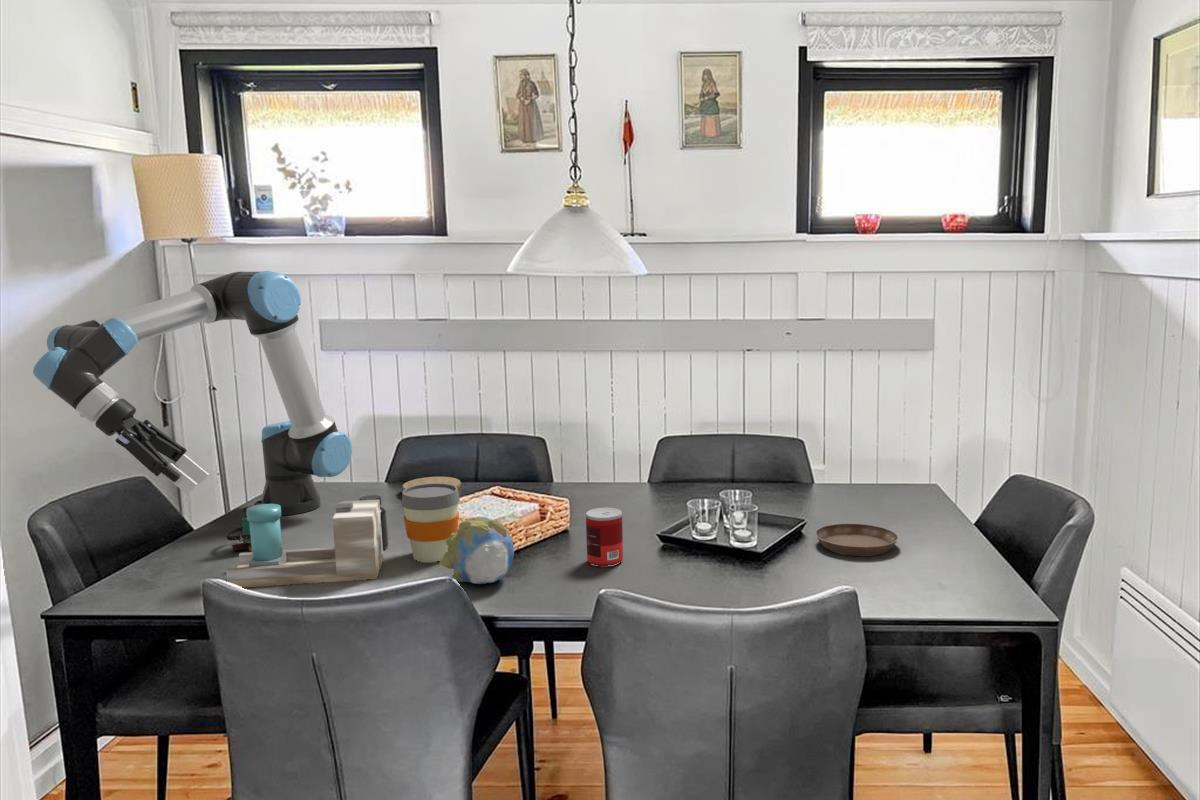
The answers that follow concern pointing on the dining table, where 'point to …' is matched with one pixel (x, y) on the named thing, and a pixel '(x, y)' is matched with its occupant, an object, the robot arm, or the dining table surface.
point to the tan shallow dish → (433, 480)
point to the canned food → (604, 536)
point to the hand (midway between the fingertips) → (198, 483)
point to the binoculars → (246, 532)
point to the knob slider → (266, 535)
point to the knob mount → (326, 553)
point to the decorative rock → (479, 551)
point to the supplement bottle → (383, 519)
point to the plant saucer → (856, 539)
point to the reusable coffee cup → (430, 518)
